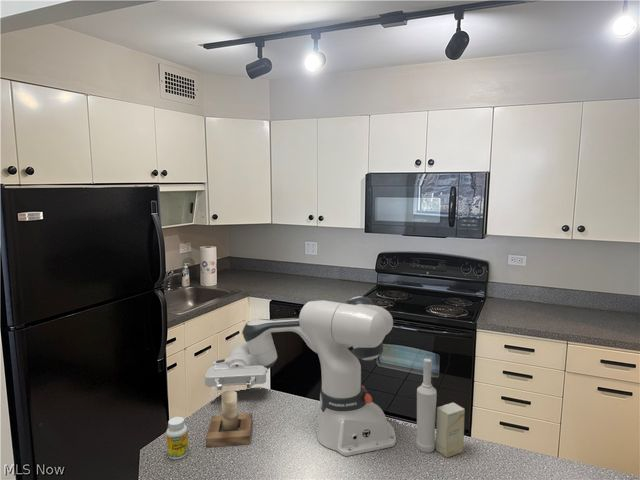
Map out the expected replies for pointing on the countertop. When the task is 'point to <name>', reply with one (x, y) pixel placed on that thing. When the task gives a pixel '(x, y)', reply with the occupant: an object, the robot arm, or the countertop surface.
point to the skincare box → (450, 429)
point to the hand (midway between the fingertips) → (233, 387)
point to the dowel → (229, 411)
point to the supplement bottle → (177, 438)
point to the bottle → (426, 411)
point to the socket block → (229, 432)
